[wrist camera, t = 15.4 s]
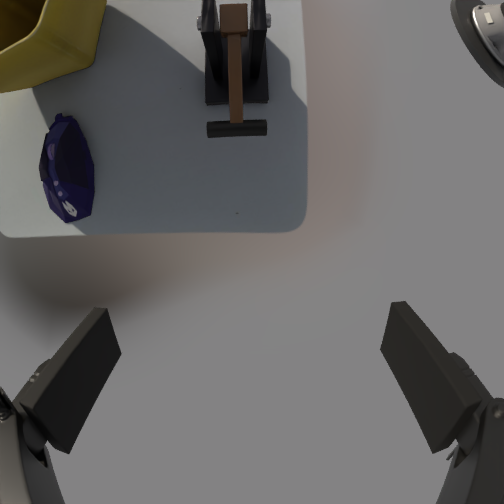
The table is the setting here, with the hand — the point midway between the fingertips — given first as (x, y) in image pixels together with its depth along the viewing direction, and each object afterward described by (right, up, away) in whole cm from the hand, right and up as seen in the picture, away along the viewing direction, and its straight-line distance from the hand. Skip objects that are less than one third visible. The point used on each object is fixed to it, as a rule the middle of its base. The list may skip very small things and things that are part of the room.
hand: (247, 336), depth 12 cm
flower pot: (-27, +34, +13) cm, 45 cm away
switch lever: (-1, +19, +9) cm, 21 cm away
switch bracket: (-2, +25, +16) cm, 30 cm away
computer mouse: (-24, +15, +18) cm, 34 cm away
